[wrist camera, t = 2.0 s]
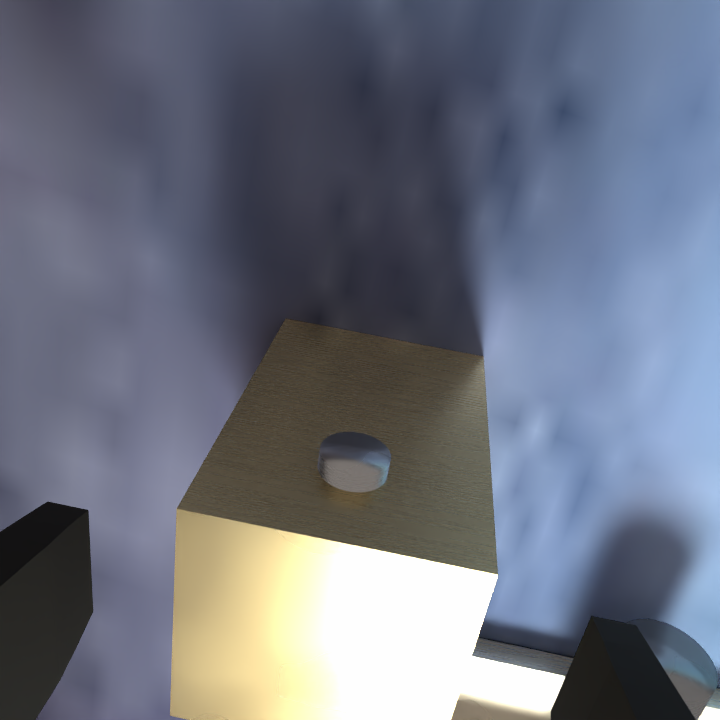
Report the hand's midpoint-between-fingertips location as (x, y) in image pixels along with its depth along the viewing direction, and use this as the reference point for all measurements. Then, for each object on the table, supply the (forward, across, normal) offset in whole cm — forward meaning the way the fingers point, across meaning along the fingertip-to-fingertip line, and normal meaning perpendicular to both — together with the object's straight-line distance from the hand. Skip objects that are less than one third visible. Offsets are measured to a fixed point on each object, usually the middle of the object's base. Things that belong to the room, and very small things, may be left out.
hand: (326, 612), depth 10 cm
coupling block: (+5, 0, 0) cm, 5 cm away
